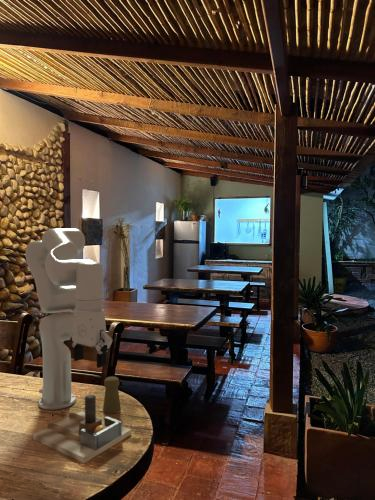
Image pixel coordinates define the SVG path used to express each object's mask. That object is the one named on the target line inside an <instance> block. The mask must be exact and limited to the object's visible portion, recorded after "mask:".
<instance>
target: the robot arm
mask: <svg viewBox="0 0 375 500" xmlns="http://www.w3.org/2000/svg"><path fill="white" fill-rule="evenodd" d="M85 237H86V236H85V235H84V233H83V232H82V230H80V229H78V228H62V227H61V228H57V227H55V228H50V229H47V230H46V231H44V232H43V234H42V236H41V239H40V240H35V241H31V242H29V243H28V244H27V245H26V246H25V260H26V264H27V267H28V269H29V271H30V273H31V276H32V277H33V279H34V283H35V287H36V292H37V293H36V294H37V297H38V298H37V299H38V304H39V306H40V307H39V308H40V309H41V311H42V312H43V313H45V314H50V315H46V316H44V317H43V318H42V319H41V320H40V321H39V325H38V327H39V329H38V330H39V335H40V341H41V349H42V350H41V351H42V387H41V388H40V389H39V390H38V392H39V393H40V394H41V398H39V400H38V406H39V407H40V409H43V410H46V411H47V410H50V411H54V410H62V409H65V408H68V407H71V406H72V405H73V404H75V402H76V401H77V400H76V399H77V396H76V395H75V394H74V393H72V357H71V356H72V354H71V350H70V348H69V347H68V346H67V345H66V344H65V343H64V342H65V341H69V340H70V342H71V343H72V344H71V346H72V348H73V361H74V362H77V361H81V360H83V359H84V346H86V347H90V348H95V349H96V352H97V353H96V368H98V369H100V368H102V367H105V366H106V365H107V353H108V351H109V349H110V348H111V347H112V346H111V345H112V343H113V338H112V337H111V336H110V335H109V334H108V333H107V325H106V324H107V323H106V322H107V321H106V317H105V310H104V308H103V307H104V298H103V297H104V295H103V293H104V290H103V289H104V284H103V283H104V282H103V280H104V278H103V274H104V270H103V264H102V263H101V262H99V261H95V260H92V259H77V257H78V256H79V255H80V254H81V252H83V250H84V249H85V245H86V238H85ZM62 312H63V313H62Z"/></svg>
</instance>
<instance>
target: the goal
mask: <svg viewBox="0 0 375 500" xmlns="http://www.w3.org/2000/svg"><path fill="white" fill-rule="evenodd" d="M103 418H104V425H105V426H106V427H107V428H105V429H103V430H101V431H99V432H98V433H96V434H95V433H93V432H90V431H88V430H86V429H81V430H80V436H81V445H84V446H86V447H88V448H90V449H93V450H95V451H96V450H98V449H99V448H101V447H103V446H104V445H106V444H108V443H109V442H111V441H113V440H114V439H116V438H118V437H119V436H121V435H122V421H121V420H118V419H116V418H113V417H110V416H105V417H103Z"/></svg>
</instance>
